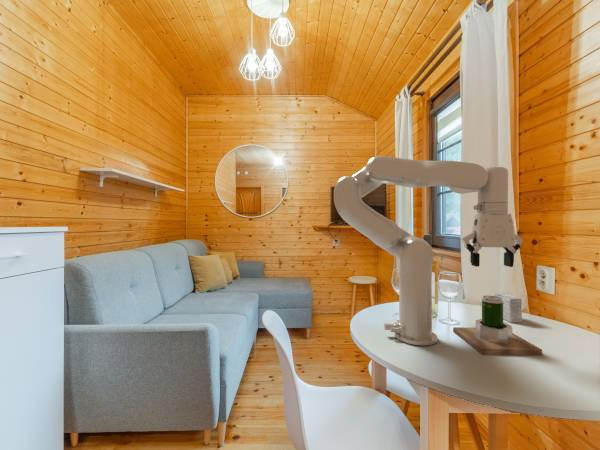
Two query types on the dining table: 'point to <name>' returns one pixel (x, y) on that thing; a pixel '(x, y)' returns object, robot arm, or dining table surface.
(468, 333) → the walnut stand
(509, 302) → the medicine box
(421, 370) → the dining table surface
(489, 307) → the beer can
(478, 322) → the can sleeve
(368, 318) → the dining table surface
